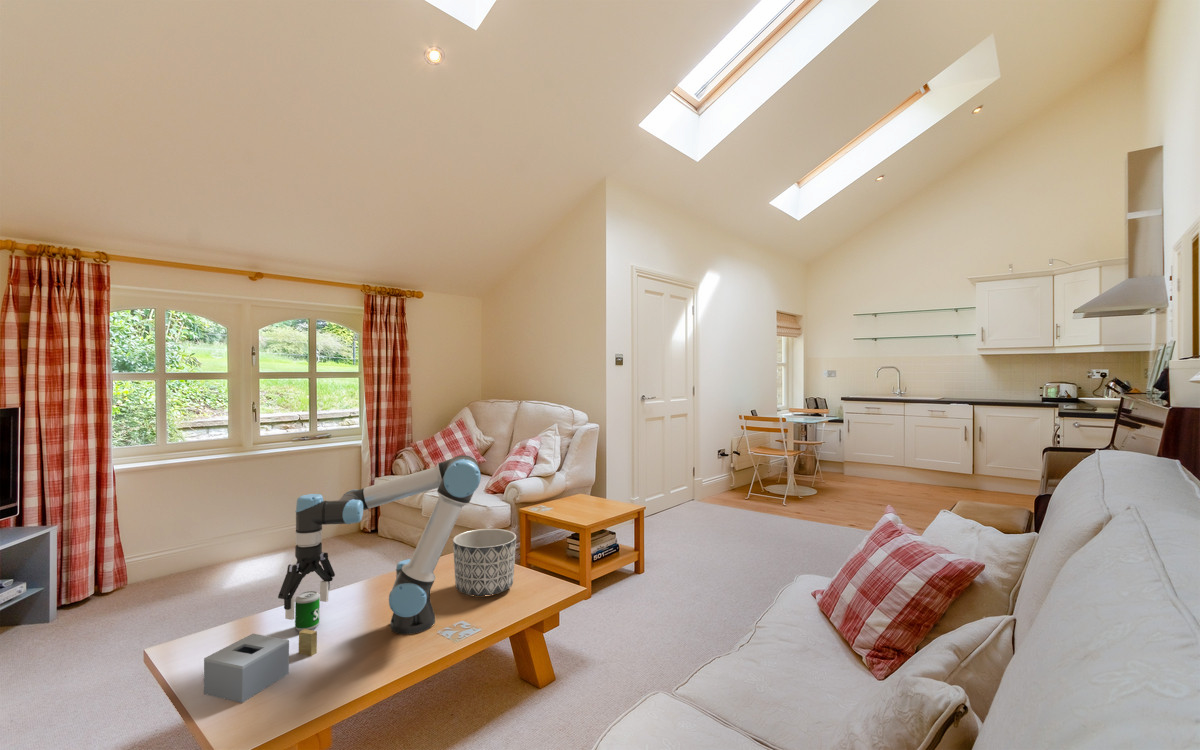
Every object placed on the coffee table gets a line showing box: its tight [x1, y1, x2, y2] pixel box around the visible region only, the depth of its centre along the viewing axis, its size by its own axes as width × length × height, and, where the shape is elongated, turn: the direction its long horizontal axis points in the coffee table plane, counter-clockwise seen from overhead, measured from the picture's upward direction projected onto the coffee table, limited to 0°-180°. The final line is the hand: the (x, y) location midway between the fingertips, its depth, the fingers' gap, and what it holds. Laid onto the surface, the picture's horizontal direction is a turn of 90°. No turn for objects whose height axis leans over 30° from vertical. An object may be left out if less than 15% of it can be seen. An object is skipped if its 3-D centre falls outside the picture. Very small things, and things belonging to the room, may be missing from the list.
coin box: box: [203, 633, 290, 704], centre depth 153 cm, size 14×15×10 cm
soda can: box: [294, 590, 321, 633], centre depth 187 cm, size 8×8×12 cm
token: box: [298, 629, 318, 657], centre depth 170 cm, size 5×2×7 cm, turn 74°
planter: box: [452, 528, 517, 597], centre depth 222 cm, size 26×26×22 cm
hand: (307, 609), depth 170 cm, fingers open, 13 cm apart
